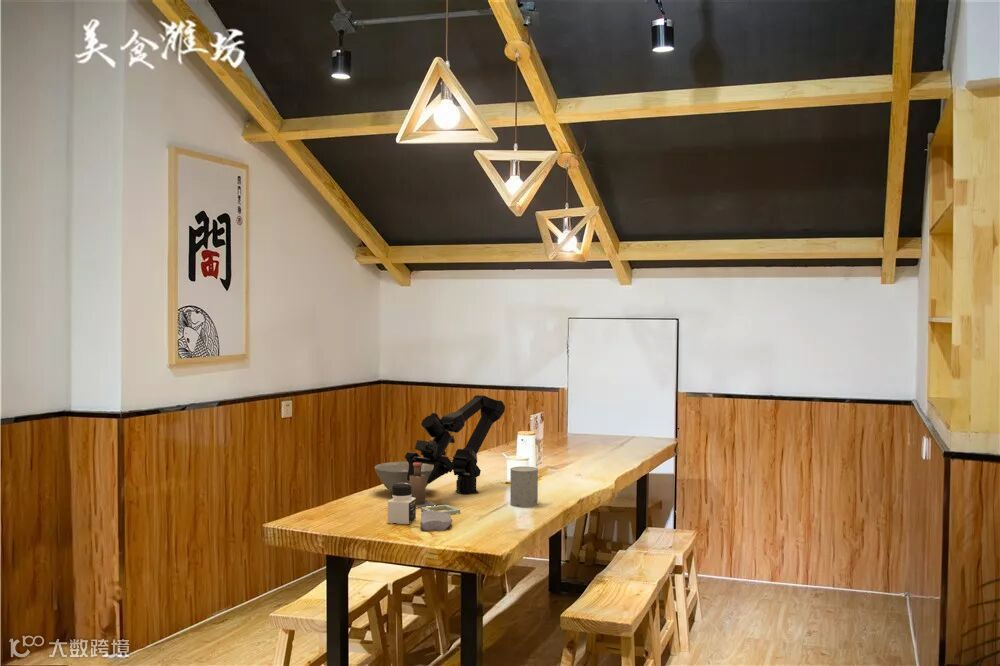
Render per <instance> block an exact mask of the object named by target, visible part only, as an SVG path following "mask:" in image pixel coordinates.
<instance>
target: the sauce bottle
mask: <svg viewBox="0 0 1000 666" xmlns="http://www.w3.org/2000/svg"><path fill="white" fill-rule="evenodd" d="M413 466H414V475H410V485H411V497H413V498H416V505H423V504H425V500H426V488H425V475H421V466H422V462H414V463H413Z"/></svg>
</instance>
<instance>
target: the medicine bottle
mask: <svg viewBox="0 0 1000 666" xmlns="http://www.w3.org/2000/svg"><path fill="white" fill-rule="evenodd" d="M391 496H392V498H391V499H389V500H388V501H387V524H388V523H397V524H396V525H407V524H409V525H411V523H413V522H415V519H417V517H416V516H417V508H416V498H413V497H411V485H410V484H408V483H397V484H394V485H393V486H392V492H391Z"/></svg>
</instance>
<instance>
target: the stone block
mask: <svg viewBox="0 0 1000 666" xmlns="http://www.w3.org/2000/svg"><path fill="white" fill-rule="evenodd" d="M452 523H453V518H452V517H451V515H449V514H447V513H445V512H440V510H435V511H432V510H430V511H424V512H422V511H421V513H420V530H421V531H422V532H432V531H433V532H434V531H436V532H437V531H438V532H439V531H443V532H444V531H446V530H447V529H448V528H450V526H451V525H452Z"/></svg>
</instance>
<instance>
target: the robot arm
mask: <svg viewBox="0 0 1000 666" xmlns="http://www.w3.org/2000/svg"><path fill="white" fill-rule="evenodd" d="M505 410H506V406H505V404H504V402H503V401H502V400H496V399H493V398H490V397H488V396H486V395H480V394H476V395H474V396H473V398H471V399H470V400H468V402H466V403H465V404H463V406H461V407H460V408H459V409H458V410H456V411H455V412H454V411H453V412H450V413H447V414H445V415H443V416H442V417H441V418H440V416H439V415H438V414H437V413H436V412H432V413H430V415H427V416H426V417H424V418H423V419H422V421H421V427H422V428H423V430H424V431H425V432H426V433H427V434H428V436H429V437H431V438H432V439H429V441H427V440H419V439H417V440H416V442H415V446H414V450H416V451H419V452H420V453H419V454H420V455H421V456H420V455H419V454H418V453H417V452H413V451H408V452H406V453H405V454H404V455H405V456H404V459H405V460H406V462H408V463H409V470H408V475H407V480H408V481H410V475H414V466H413V463H414V462H422V464H423V463H424V464H430V465H434V468H433V470H432V472H431V474H430V476H429V478H428V480H427V483H428V485H430V484H431V483H433V482H435V481H436V480H437V479H439V478H441V477H442V476H444V475H446V474H448V473H453V475H454V476H457V479H456V480H455V481H456V483H455V484H456V487H455V489H456V490H455V492H456V493H458V492H459V493H458V494H461V493H462V495H469V493H471V494H479V490H477V478H478V477H480V476H481V472H482V471H481V469H480V467H479V466H478V465H477V463H478V456H477V454H478V453H479V451H480V449H481V448H482V444H483V443H484V441H485V439H486V437H487V435H488V432H489V431H490V429H491V427H492V426H493V424H494V423H495V422H497V421H498V420H500V419H501V418H502V416H503V415H504V413H505ZM479 411H480V418H479V420H478V422H477V424H476V427H475V428H474V430H473V432H472V434H471V435H470V437H469V439H468V441H467V442H466V445H465V447H464V448H457V449H456V451H455V453H454V455H453V456H452V460H451V459H450V458H449V457H448V456H446V455H447V452H446V449H447V447H449V444H455V441H456V440H455V437H454V435H452V434H451V433H454V434H455V433H460V432H461V430H462V429H464V427H465V424H466V422H467V421H468V420H469V419H470V418H472V417H473V416H474V415H475V414H476V413H478V412H479Z"/></svg>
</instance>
